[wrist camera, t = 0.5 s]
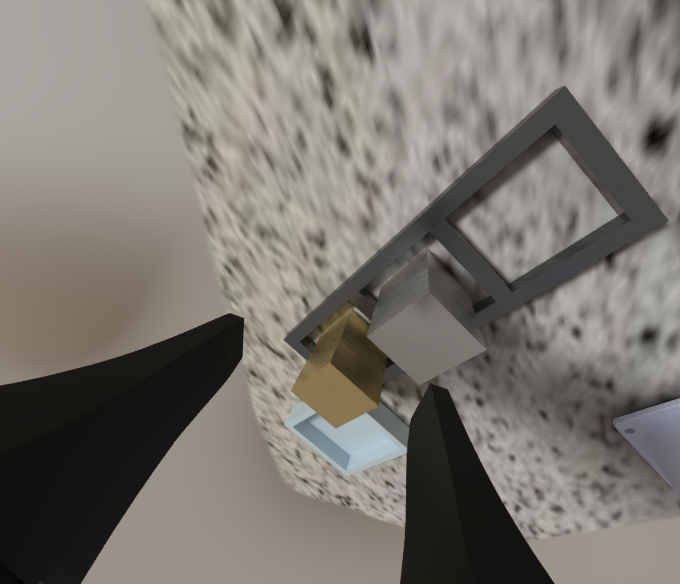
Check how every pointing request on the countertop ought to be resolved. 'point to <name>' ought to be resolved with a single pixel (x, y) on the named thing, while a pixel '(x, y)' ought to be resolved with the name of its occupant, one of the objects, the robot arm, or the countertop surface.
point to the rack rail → (592, 158)
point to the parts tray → (351, 437)
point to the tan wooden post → (343, 373)
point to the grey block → (425, 320)
